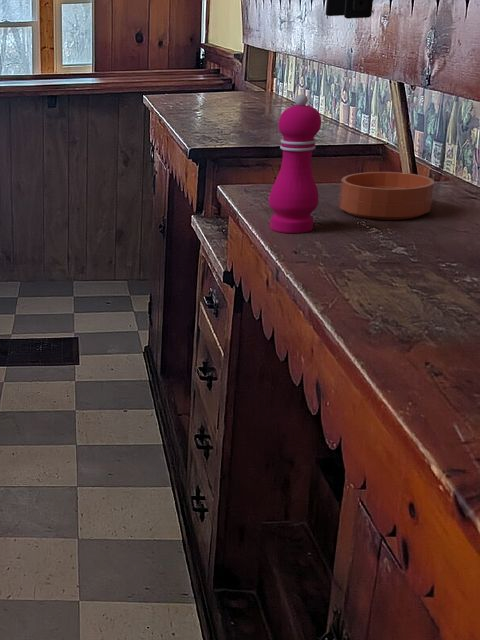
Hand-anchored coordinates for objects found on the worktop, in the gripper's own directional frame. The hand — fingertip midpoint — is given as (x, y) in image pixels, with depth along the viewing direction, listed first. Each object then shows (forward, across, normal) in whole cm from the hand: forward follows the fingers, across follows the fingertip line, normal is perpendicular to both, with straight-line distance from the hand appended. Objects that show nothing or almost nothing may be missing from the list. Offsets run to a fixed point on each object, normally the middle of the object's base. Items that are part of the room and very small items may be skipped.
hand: (347, 16), depth 113 cm
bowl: (+31, +18, -13) cm, 38 cm away
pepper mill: (+31, +9, +3) cm, 32 cm away
